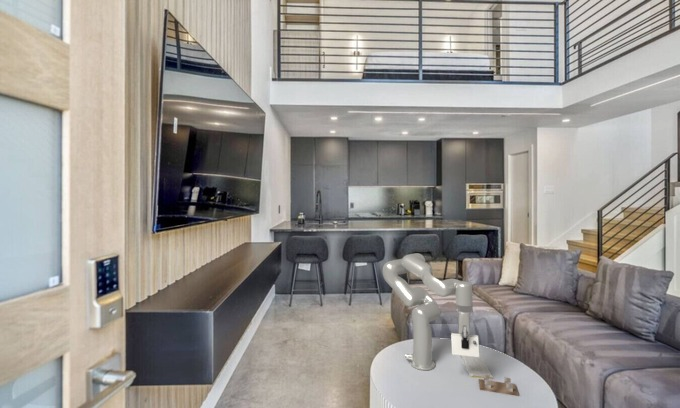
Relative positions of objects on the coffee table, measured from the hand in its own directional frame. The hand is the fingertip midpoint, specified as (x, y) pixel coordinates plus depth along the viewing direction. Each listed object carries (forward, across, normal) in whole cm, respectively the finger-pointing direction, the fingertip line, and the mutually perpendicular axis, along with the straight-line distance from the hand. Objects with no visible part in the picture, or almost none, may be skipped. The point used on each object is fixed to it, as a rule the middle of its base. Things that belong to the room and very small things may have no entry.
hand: (465, 346), depth 161 cm
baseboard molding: (+18, -23, +4) cm, 30 cm away
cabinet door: (+4, 0, 0) cm, 4 cm away
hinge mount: (+18, -1, +14) cm, 23 cm away
